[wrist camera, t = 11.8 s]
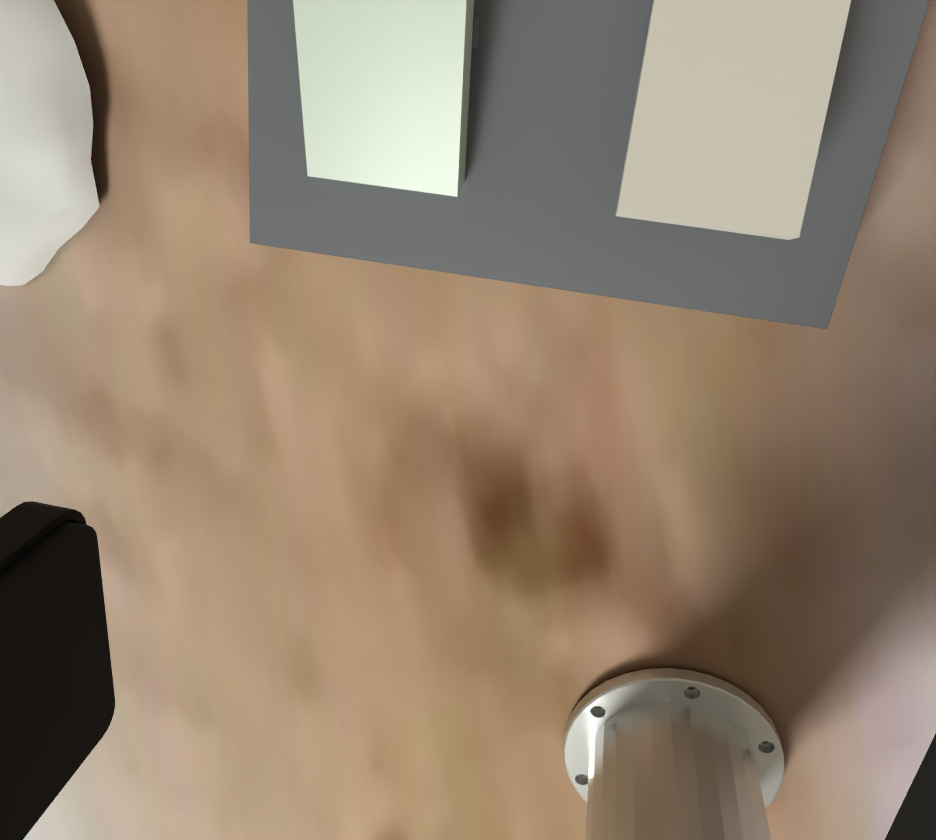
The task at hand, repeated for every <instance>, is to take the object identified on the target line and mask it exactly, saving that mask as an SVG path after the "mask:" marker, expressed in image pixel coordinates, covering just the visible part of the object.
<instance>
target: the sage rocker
mask: <svg viewBox="0 0 936 840" xmlns="http://www.w3.org/2000/svg"><path fill="white" fill-rule="evenodd" d="M293 7H294V19H295V31H296V43H297V55H298V67H299V79H300V91H301V103H302V115H303V127H304V139H305V151H306V163H307V175H308V176H310V177H318V178H325V179H332V180H339V181H347V182H354V183H361V184H368V185H376V186H383V187H390V188H397V189H405V190H412V191H419V192H426V193H434V194H441V195H448V196H455V197H457V196H458V194H459V192H460V190H461V188H462V186H463V184H464V182H465V164H466V145H467V126H468V107H469V88H470V69H471V49H472V30H473V11H474V0H293Z"/></svg>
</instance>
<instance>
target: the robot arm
mask: <svg viewBox="0 0 936 840" xmlns="http://www.w3.org/2000/svg"><path fill="white" fill-rule="evenodd" d="M114 709H115V696H114V687H113V677H112V668H111V659H110V650H109V641H108V632H107V623H106V613H105V604H104V595H103V586H102V577H101V568H100V558H99V549H98V540H97V535H96V532H95V530H94V529H93V527H90V526H88V525H86V521H85V518H84V517H83V515H82V514H81V513H80V512H78V511H76V510H73V509H68V508H63V507H58V506H53V505H48V504H43V503H38V502H24V503H22V504H20V505H18V506H16V507H15V508H13V509H12V510H11V511H9V512H8V513H6V514H5V515H4V516H2V517H1V518H0V840H23V839H24V837H25V836H26V835H27V834H28V832H29V831H30V830H31V828H32V827H33V826H34V825H35V823H36V822H37V821H38V819H39V818H40V817H41V816H42V814H43V813H44V812H45V810H46V809H47V808H48V806H49V805H50V804H51V803H52V801H53V800H54V799H55V797H56V796H57V795H58V794H59V792H60V791H61V790H62V788H63V787H64V786H65V785H66V783H67V782H68V781H69V779H70V778H71V777H72V776H73V774H74V773H75V772H76V770H77V769H78V768H79V766H80V765H81V764H82V763H83V761H84V760H85V759H86V757H87V756H88V755H89V754H90V752H91V751H92V750H93V748H94V747H95V746H96V745H97V743H98V742H99V741H100V739H101V738H102V737H103V735H104V734H105V732H106V731H107V729H108V727H109V725H110V723H111V720H112V717H113V714H114ZM563 755H564V764H565V768H566V771H567V774H568V777H569V779H570V781H571V783H572V784H573V786H574V788H575V790H576V791H577V793H578V794H579V795H580V796H581V797H582V798H583V799H584V801H585V802H586V803H587V816H586V838H585V840H771V836H770V831H769V826H768V821H767V816H766V811H765V809H766V808H767V807H768V806H769V805H770V804H771V802H772V801H773V800H774V798H775V796H776V794H777V793H778V791H779V789H780V787H781V784H782V779H783V775H784V754H783V750H782V745H781V741H780V737H779V735H778V732H777V730H776V728H775V726H774V723H773V721H772V720H771V719H770V717H769V716H768V715H767V713H766V712H765V711H764V709H763V708H762V707H761V706H760V705H759V704H758V703H757V702H756V701H755V700H753V699H752V698H751V697H750V696H749V695H748V694H747V693H745V692H743V691H742V690H740V689H738V688H737V687H735V686H733V685H732V684H730V683H728V682H726V681H723V680H721V679H718V678H716V677H713V676H711V675H707V674H703V673H699V672H695V671H691V670H684V669H672V668H658V669H644V670H639V671H635V672H630V673H625V674H623V675H620V676H617V677H615V678H612V679H610V680H607V681H605V682H604V683H602V684H601V685H599V686H597V687H596V688H594V689H593V690H591V691H590V692H589V693H588V694H587V695H586V696H585V697H584V698H583V699H582V700H581V701H580V702H579V703H578V704H577V706H576V707H575V709H574V710H573V712H572V713H571V715H570V717H569V720H568V723H567V726H566V728H565V736H564V744H563ZM885 840H936V734H935V736H934V738H933V740H932V742H931V745H930V747H929V749H928V751H927V753H926V755H925V757H924V759H923V761H922V763H921V765H920V767H919V770H918V772H917V774H916V776H915V778H914V780H913V782H912V784H911V786H910V788H909V790H908V792H907V795H906V797H905V799H904V801H903V803H902V805H901V807H900V809H899V811H898V813H897V815H896V817H895V820H894V822H893V824H892V826H891V828H890V830H889V832H888V834H887V836H886V838H885Z"/></svg>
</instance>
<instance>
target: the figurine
mask: <svg viewBox="0 0 936 840" xmlns="http://www.w3.org/2000/svg"><path fill="white" fill-rule="evenodd" d="M92 136H93V117H92V106H91V95H90V86H89V83H88V80H87V77H86V74H85V71H84V68H83V65H82V62H81V59H80V56H79V53H78V50H77V47H76V44H75V41H74V39H73V37H72V35H71V33H70V31H69V29H68V27H67V25H66V23H65V21H64V19H63V17H62V16H61V14H60V12H59V10H58V8H57V6H56V4H55V2H54V0H0V284H1V285H6V286H16V285H24V284H26V283H27V282H29V281H30V280H31V279H33V278H34V277H36V276H37V275H38V274H40V273H41V272H43V270H44V269H45V267H46V266H47V265H48V263H49V262H50V260H51V259H52V257H53V256H54V255H55V253H56V252H57V250H58V249H59V248H60V247H61V246H62V245H63V244H64V243H65V242H66V241H68V240H69V239H70V238H71V237H72V236H73V235H75V234H76V233H77V232H78V231H79V230H80V229H82V228H83V226H84V225H85V224H86V223H87V222H88V220H89V219H90V218H91V217H92V216H93V214H94V213H95V212H96V211H97V209H98V208H99V207H100V206H99V201H98V195H97V190H96V185H95V180H94V174H93V169H92V164H91V150H92Z"/></svg>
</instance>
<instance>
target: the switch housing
mask: <svg viewBox="0 0 936 840" xmlns="http://www.w3.org/2000/svg"><path fill="white" fill-rule="evenodd" d="M247 1H248V94H249V187H250V243H253V244H259V245H266V246H273V247H279V248H286V249H293V250H299V251H306V252H313V253H320V254H326V255H333V256H340V257H346V258H353V259H360V260H366V261H373V262H380V263H386V264H393V265H400V266H407V267H413V268H420V269H427V270H433V271H440V272H447V273H453V274H460V275H467V276H473V277H480V278H487V279H494V280H500V281H507V282H514V283H520V284H527V285H534V286H540V287H547V288H554V289H560V290H567V291H574V292H581V293H587V294H594V295H601V296H607V297H614V298H621V299H627V300H634V301H641V302H647V303H654V304H661V305H668V306H674V307H681V308H688V309H694V310H701V311H708V312H714V313H721V314H728V315H734V316H741V317H748V318H755V319H761V320H768V321H775V322H781V323H788V324H795V325H801V326H808V327H815V328H821V329H828V325H829V322H830V319H831V316H832V313H833V309H834V306H835V303H836V300H837V296H838V293H839V290H840V287H841V284H842V280H843V277H844V274H845V271H846V268H847V264H848V261H849V258H850V255H851V251H852V248H853V245H854V242H855V239H856V235H857V232H858V229H859V226H860V222H861V219H862V216H863V213H864V210H865V206H866V203H867V200H868V197H869V194H870V190H871V187H872V184H873V181H874V177H875V174H876V171H877V168H878V165H879V161H880V158H881V155H882V152H883V149H884V145H885V142H886V139H887V136H888V132H889V129H890V126H891V123H892V120H893V116H894V113H895V110H896V107H897V103H898V100H899V97H900V94H901V91H902V87H903V84H904V81H905V78H906V75H907V71H908V68H909V65H910V62H911V58H912V55H913V52H914V49H915V46H916V42H917V39H918V36H919V33H920V29H921V26H922V23H923V20H924V17H925V13H926V10H927V7H928V4H929V1H930V0H851V3H850V8H849V13H848V17H847V22H846V26H845V31H844V35H843V40H842V45H841V49H840V54H839V58H838V63H837V67H836V72H835V76H834V81H833V86H832V90H831V95H830V99H829V104H828V108H827V113H826V118H825V122H824V127H823V131H822V136H821V140H820V145H819V150H818V154H817V159H816V163H815V168H814V172H813V177H812V181H811V186H810V191H809V195H808V200H807V204H806V209H805V213H804V218H803V223H802V227H801V232H800V236H799V238H795V239H791V240H785V239H778V238H771V237H764V236H756V235H749V234H742V233H734V232H727V231H720V230H713V229H705V228H698V227H691V226H684V225H676V224H669V223H662V222H655V221H647V220H640V219H633V218H625V217H618V216H615V215H616V210H617V204H618V198H619V193H620V187H621V181H622V175H623V170H624V164H625V158H626V153H627V147H628V141H629V135H630V130H631V124H632V118H633V113H634V107H635V101H636V96H637V90H638V84H639V78H640V73H641V67H642V61H643V56H644V50H645V44H646V39H647V33H648V27H649V21H650V16H651V10H652V4H653V0H474V11H473V30H472V49H471V69H470V88H469V107H468V126H467V145H466V164H465V182H464V184H463V186H462V188H461V190H460V192H459V194H458V196H457V197H455V196H448V195H441V194H434V193H426V192H419V191H412V190H405V189H397V188H390V187H383V186H376V185H368V184H361V183H354V182H347V181H339V180H332V179H325V178H318V177H310V176H308V175H307V163H306V151H305V139H304V127H303V115H302V103H301V91H300V79H299V67H298V55H297V43H296V31H295V19H294V7H293V0H247Z"/></svg>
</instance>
